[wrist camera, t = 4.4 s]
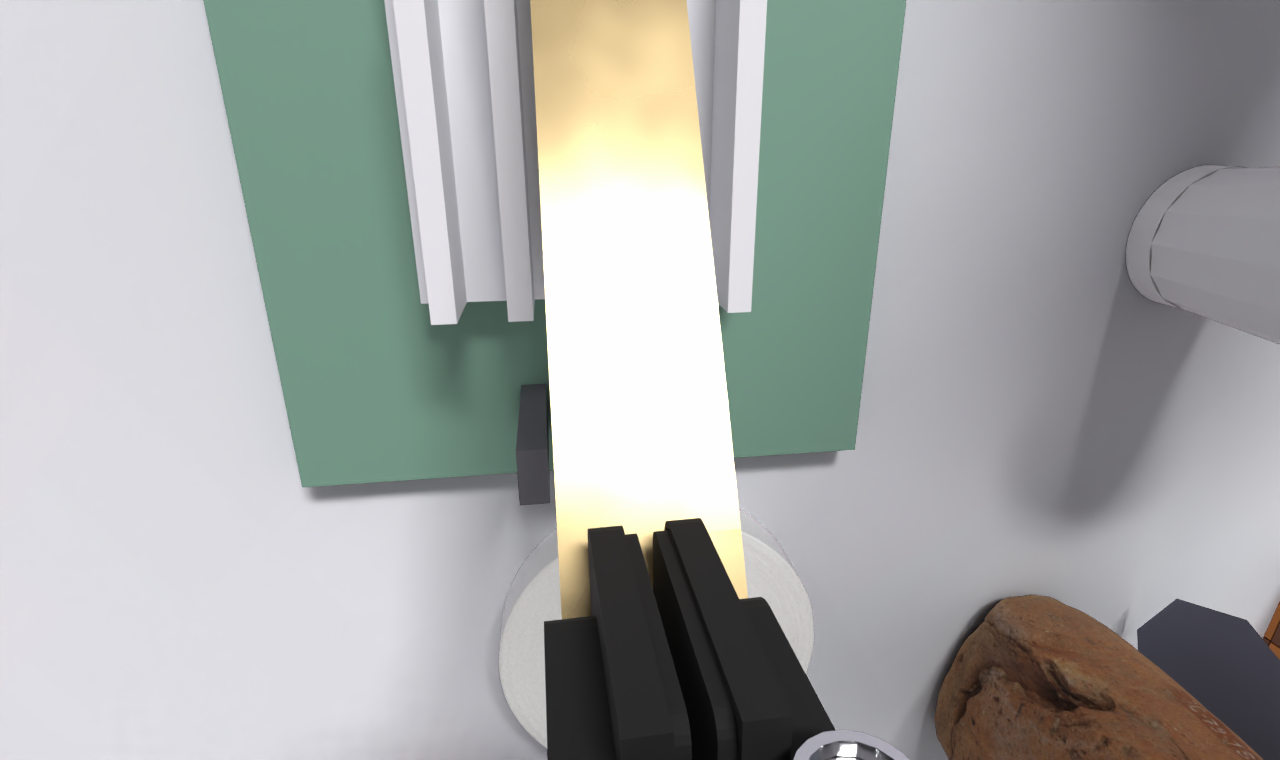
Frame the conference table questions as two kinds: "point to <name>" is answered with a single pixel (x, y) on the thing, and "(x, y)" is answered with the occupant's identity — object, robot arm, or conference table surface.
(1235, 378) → the conference table surface
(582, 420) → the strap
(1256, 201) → the cup
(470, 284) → the motherboard
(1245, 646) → the clamp
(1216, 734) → the block
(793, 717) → the robot arm
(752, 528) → the roll of tape
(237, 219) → the conference table surface
